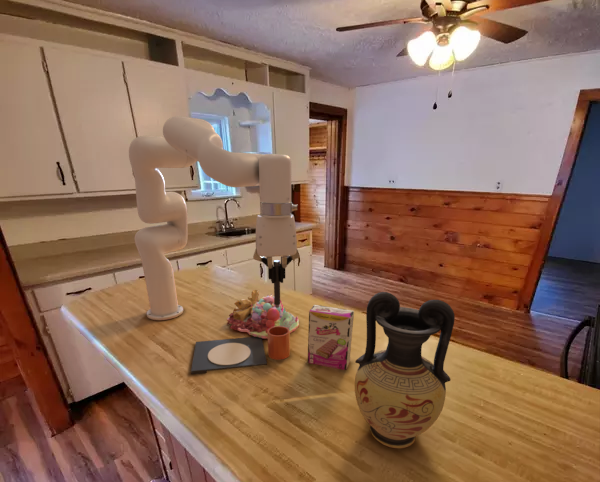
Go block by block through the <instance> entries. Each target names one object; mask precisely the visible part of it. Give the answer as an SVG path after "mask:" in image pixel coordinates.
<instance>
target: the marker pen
mask: <svg viewBox="0 0 600 482" xmlns="http://www.w3.org/2000/svg"><path fill="white" fill-rule="evenodd" d="M280 263H281V260H278V259H275V260H272V264H273V267H274V269H275V283H273V296H274V304H275V305H276V308H279V305H280V300H281V282H280Z"/></svg>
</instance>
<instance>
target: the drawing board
mask: <svg viewBox="0 0 600 482" xmlns="http://www.w3.org/2000/svg"><path fill="white" fill-rule="evenodd" d="M267 365H268V361H267V357H266V351H265V346H264V342H263V338H260V337H255V336H248V337H236V338H225V339H223V338H222V339H213V340H200V341H195V344H194V351H193V357H192V363H191V369H190V375H197V374H206V373H207V372H211V371H212V372H213V371H221V370H229V369H230V370H231V369H239V368H240V369H241V368H249V367H261V366H267Z"/></svg>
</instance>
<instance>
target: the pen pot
mask: <svg viewBox="0 0 600 482" xmlns="http://www.w3.org/2000/svg"><path fill="white" fill-rule="evenodd" d="M267 338H268V339H267V355H268V357H269V358H270V359H272V360H276V361H281V360H285V359H288V357H290V355H291V333H290V331H289V329H288V328H286V327H283V326H275V327H271V328H269V329H268V331H267Z"/></svg>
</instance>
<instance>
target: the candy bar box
mask: <svg viewBox="0 0 600 482" xmlns="http://www.w3.org/2000/svg"><path fill="white" fill-rule="evenodd" d="M354 317H355V310H352V309H346V308H339V307H332V306H326V305H320V304H313V306H312V307H311V308H310V309H309V311H308V334H307V336H308V337H307V363H308V364H311V365H317V366H322V367H327V368H331V369H332V368H333V369H339V370H343V371H346V370H347V369H348V367H349V365H350V362H351V352H352V351H351V350H352V340H353V339H352V338H353V327H354Z"/></svg>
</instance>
